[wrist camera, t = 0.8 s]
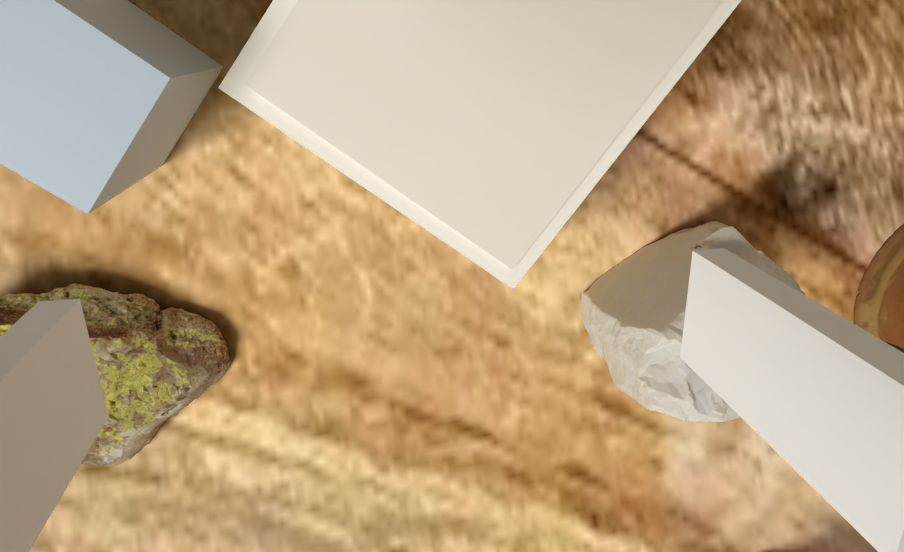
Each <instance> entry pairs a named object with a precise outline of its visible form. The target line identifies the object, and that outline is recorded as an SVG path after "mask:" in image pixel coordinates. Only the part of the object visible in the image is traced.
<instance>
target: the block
mask: <svg viewBox="0 0 904 552" xmlns="http://www.w3.org/2000/svg"><path fill="white" fill-rule="evenodd" d="M222 69H223V66H222V65H220V64H219V63H217V62H216V61H215V60H213V59H212V58H210V57H209V56H207V55H206V54H205V53H203V52H202V51H200V50H199V49H197V48H196V47H194V46H193V45H192V44H190V43H189V42H187V41H186V40H184V39H183V38H181V37H180V36H179V35H177V34H176V33H174V32H173V31H171V30H170V29H169V28H167V27H166V26H164V25H163V24H161V23H160V22H158V21H157V20H156V19H154V18H153V17H151V16H150V15H148V14H147V13H145V12H144V11H143V10H141V9H140V8H138V7H137V6H135V5H134V4H133V3H131V2H130V1H128V0H0V164H2V165H3V166H5V167H7V168H9V169H10V170H12V171H14V172H16V173H17V174H19V175H21V176H23V177H24V178H26V179H28V180H29V181H31V182H33V183H35V184H36V185H38V186H40V187H42V188H43V189H45V190H47V191H49V192H50V193H52V194H54V195H56V196H57V197H59V198H61V199H62V200H64V201H66V202H68V203H69V204H71V205H73V206H75V207H76V208H78V209H80V210H82V211H83V212H85V213H87V214H89V213H90V212H92V211H93V210H95V209H96V208H98V207H99V206H101V205H102V204H104V203H105V202H107V201H109V200H110V199H112V198H113V197H115V196H116V195H118V194H119V193H121V192H122V191H124V190H125V189H127V188H129V187H130V186H132V185H133V184H135V183H136V182H138V181H139V180H141V179H142V178H144V177H145V176H147V175H148V174H150V173H152V172H153V171H155V170H156V169H158V168H159V167H161V166H162V165H163V164H164V162H165V160H166V159H167V157H168V156H169V154H170V152H171V151H172V149H173V148H174V146H175V144H176V143H177V141H178V140H179V138H180V136H181V135H182V133H183V132H184V130H185V128H186V127H187V125H188V124H189V122H190V120H191V119H192V117H193V116H194V114H195V112H196V111H197V109H198V108H199V106H200V104H201V103H202V101H203V100H204V98H205V96H206V95H207V93H208V92H209V90H210V88H211V87H212V85H213V84H214V82H215V80H216V79H217V77H218V76H219V74H220V72H221V71H222Z"/></svg>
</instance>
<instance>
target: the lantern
mask: <svg viewBox="0 0 904 552" xmlns="http://www.w3.org/2000/svg"><path fill="white" fill-rule="evenodd" d="M858 291H859V293H860V294H859V295H858V296H856V301H855V306H854V324H855V325H857V326H858V327H860V328H862V329H863V330H865V331H867V332H869V333H870V334H872V335H874V336H875V337H877V338H879V339H881V340H883V341H885V342H888V343H891V344H894V345H896V346H899V347H901V348H903V349H904V225H902V226H901V227H900V228H899V229H898V230H897V231H896V232H895V233H894V234H893V235H892V236H891V237H890V238H889V239H888V240H887V241H886V242H885V243H884V244H883V246H882V248H881V249H880V250H879V251H878V252H877V253H876V255H875V257H874V258H873V260H872V261H871V264H870V266H869V267H868V268H867V270H866V272H865V274H864V277H863V279H862V282H861V284H860V286H859V288H858Z"/></svg>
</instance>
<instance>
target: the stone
mask: <svg viewBox="0 0 904 552" xmlns="http://www.w3.org/2000/svg"><path fill="white" fill-rule="evenodd" d="M718 248H725V249H726V250H728V251H730V252H731V253H733V254H735V255H737V256H738V257H740V258H742V259H743V260H745V261H747V262H749V263H750V264H752V265H754V266H755V267H757V268H759V269H761V270H762V271H764V272H766V273H767V274H769V275H771V276H773V277H774V278H776V279H778V280H779V281H781V282H783V283H785V284H786V285H788V286H790V287H791V288H793V289H795V290H797V291H798V292H800V293H802V294H803V295H805V293H804V292H803V291H801V289H800V287H799V285H798V284H797V283H796V281H795V280H794V279H793V278H792V277H791V276H790V275H789V274H788V273H786V272H785V271H784V270H783V269H782V268H780V267H779V266H778V265H777V264H776V263H774V262H773V261H772V260H771V259H770V258H768V257H767V256H766V255H765V254H764V253H763V252H762V251H757V250H756V249H755V248H754V247H753V246H752V245H751V244H750V243H749V242H748V241H747V240H746V239H745V238H744V237H743V236H742V235H741V234H740V233H739V232H738V231H737V230H736V229H735V228H734V227H733V226H728V225H726V224H724V223H721V222H716V221H711V222H707V223H706V224H703V225H700V226H697V227H694V228H689V229H683V230H680V231H678V232H675V233H672V234H670V235H668V236H666V237H665V238H663V239H661V240H659V241H657V242H654V243H652V244H649V245H647V246H644V247H643V248H641V249H640V250H639V251H637V252H635V253H634V254H633V255H631V256H630V257H628V258H627V259H625V260H624V261H622V262H621V263H619V264H618V265H617V266H615V267H614V268H613V269H611V270H609V271H608V272H606V273H605V274H603V275H602V276H601V277H600V278H599V279H598V280H596V281H595V282H594V283H593V284H592V285H591V288H590V289H589V290H587V291H586V292H584V293H583V295H582V301H581V315H582V320H583V324H584V326H585V328H586V330H587V331H588V333H589V334H590V341H591V345H592V347H593V349H594V351H595V353H596V354H598V355H599V356H601V357H602V358H603V359H604V360H605V361H606V362H607V365H608V367H609V372H610V375H611V377H612V379H613V380H614V385H615V387H616V388H618V389H619V390H620V391H625V392H626V393H627V394H628V395H629V396H631V397H633V398H634V399H635V400H636V401H638V402H639V403H640V404H641V405H642V406H644V407H645V408H647V409H648V410H651V411H657V412H661V413H663V414H665V415H670V416H673V417H675V418H679V419H683V420H687V421H691V422H701V421H708V422H725V421H728V420H733V419H737V418H739V417H740V416H739V415H738V414H737V413H736V412H735V411H734V410H733V409H732V408H731V407H730V406H729V405H728V404H727V403H726V402H725V401H724V400H723V399H722V398H721V397H720V396H719V395H718V394H717V393H716V392H715V391H714V390H713V389H712V388H711V387H710V386H709V385H708V384H707V383H706V382H705V381H704V380H703V379H702V378H701V377H699V376H698V375H697V374H696V373H695V372H694V371H693V370H692V369H691V368H690V367H689V366H688V365H687V364H686V363H685V362H684V361H683V360H682V359H681V358H680V354H681V345H682V337H683V328H684V320H685V311H686V303H687V294H688V286H689V277H690V269H691V260H692V252H693V250H705V249H718Z"/></svg>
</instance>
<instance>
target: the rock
mask: <svg viewBox="0 0 904 552" xmlns="http://www.w3.org/2000/svg"><path fill="white" fill-rule="evenodd" d="M66 299H80V303H81V307H82V310H83V314H84V318H85V322H86V326H87V330H88V334H89V338H90V342H91V346H92V350H93V354H94V358H95V362H96V366H97V370H98V374H99V378H100V382H101V386H102V390H103V394H104V398H105V402H106V406H107V410H108V414H109V417H108V418H107V420H106V422H105V424H104V425H103V427H102V429H101V430H100V432H99V434H98V435H97V437H96V439H95V440H94V442H93V444H92V446H91V447H90V449H89V451H88V452H87V454H86V456H85V457H84V459H83V461H82V462H81V464H95V465H98V466H113V465H118V464H121V463H123V462H125V461H126V460H129V459H131V458H132V457H133V456H134V455H135V454H137V453H139V452H140V451H141V450H142V448H143V447H144V446H145V445H147V444H149V443H150V442H151V441H152V439H153V438H154V435H155V433H156V431H157V430H158V429H159V427H160V426H161V425H162V424H163V423H164V422H165V421H166V420H167V419H168V418H169V417H171V416H175V415H177V414H178V412H179V411H180V410H181V409H182V408H183V407H186V406H188V405H189V404H190V403H191V402H192V401H193V400H194V399H196V398H198V397H199V396H200V395H201V394H202V392H203V391H205V390H206V389H207V388H208V387H210V386H211V385H212V384H214V383H216V382H217V381H218V380H219V379H220V378H221V377H222V376H223V374H224V373H225V372H226V370H227V369H228V368H229V366H230V364H231V359H230V356H229V351H228V346H227V342H226V341H225V339H224V338H223V336H222V334H221V331H220V330H219V328H217V327H216V326H215V324H214V323H213V322H212V321H209V320H207V319H205V318H203V317H202V316H200V315H199V314H194V313H191V312H188V311H185V310H183V309H176V308H173V307H170V308H168V309H165V310H161V309H160V307H159V305H158V304H157V303H156V302H155V300H153V299H150V298H148V297H146V296H145V295H143V294H137V293H134V294H127V295H125V294H121V293H119V292H110V291H107V290H104V289H102V288H99V287H92V286H87V285H81V284H71V285H69V286H68V287H65V288H55V289H54V290H52V291H50V292H48V293H42V294H39V295H37V294H30V293H21V294H11V293H6V294H4V295H1V296H0V336H2V335H3V334H4V333H5V332H6V331H7V330H8V329H9V328H10V327H11V326H12V325H14V324H15V323H16V322H17V321H18V320H19V319H20V318H21V317H22V316H23V315H24V314H25V313H27V312H28V311H29V310H30V309H31V308H32V307H33V306H34V305H35V304H36V303H37V302H41V301H53V300H66Z"/></svg>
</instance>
